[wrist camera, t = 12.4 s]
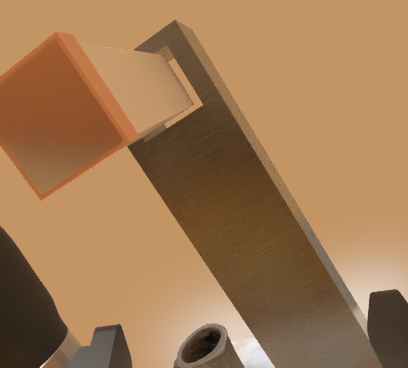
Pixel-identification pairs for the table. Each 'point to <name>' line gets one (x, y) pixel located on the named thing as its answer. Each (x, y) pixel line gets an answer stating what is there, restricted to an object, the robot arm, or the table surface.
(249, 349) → the table surface
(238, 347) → the table surface
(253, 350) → the table surface
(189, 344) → the pipe
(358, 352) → the grey tall rectangular block
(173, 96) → the block
